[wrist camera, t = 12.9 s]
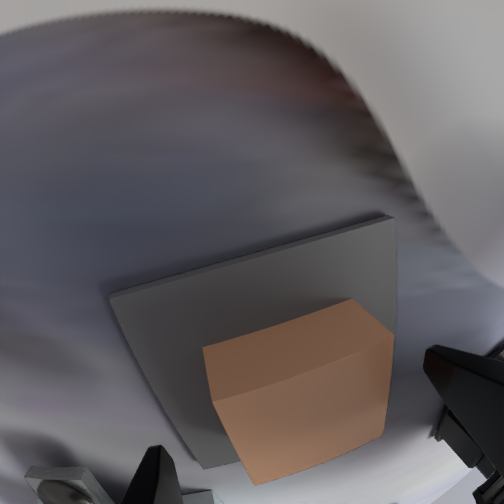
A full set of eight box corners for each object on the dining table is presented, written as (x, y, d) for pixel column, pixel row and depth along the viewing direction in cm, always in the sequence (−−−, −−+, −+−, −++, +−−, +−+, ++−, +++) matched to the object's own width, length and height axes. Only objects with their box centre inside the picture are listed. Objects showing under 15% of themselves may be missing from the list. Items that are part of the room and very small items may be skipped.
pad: (387, 215, 10) (395, 217, 9) (384, 398, 13) (388, 403, 12) (110, 293, 8) (108, 299, 8) (202, 462, 11) (203, 469, 11)
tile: (351, 298, 10) (394, 334, 7) (354, 397, 11) (382, 435, 9) (202, 347, 9) (212, 402, 7) (240, 438, 11) (254, 485, 8)
